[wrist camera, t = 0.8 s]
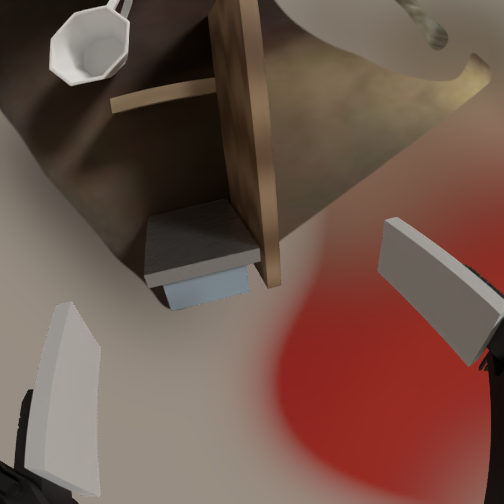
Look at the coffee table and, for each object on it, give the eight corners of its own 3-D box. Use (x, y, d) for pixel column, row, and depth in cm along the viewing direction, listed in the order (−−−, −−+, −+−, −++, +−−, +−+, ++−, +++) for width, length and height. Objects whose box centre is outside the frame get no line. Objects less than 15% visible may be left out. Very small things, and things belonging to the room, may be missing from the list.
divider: (123, 100, 24) (109, 98, 17) (201, 84, 25) (214, 77, 19) (125, 111, 25) (112, 113, 18) (203, 95, 26) (216, 92, 19)
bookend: (148, 216, 31) (143, 275, 21) (226, 198, 32) (259, 248, 22) (153, 235, 32) (153, 300, 22) (229, 217, 34) (262, 273, 24)
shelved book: (159, 226, 32) (161, 281, 22) (219, 212, 33) (245, 261, 24) (166, 250, 33) (171, 310, 24) (223, 237, 35) (249, 291, 25)
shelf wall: (207, 15, 22) (235, -30, 12) (219, 14, 22) (253, -30, 12) (234, 230, 35) (268, 288, 25) (244, 227, 35) (281, 285, 25)
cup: (65, 84, 21) (34, 80, 14) (103, -1, 17) (87, -29, 11) (124, 97, 24) (110, 94, 17) (163, 12, 20) (165, -17, 14)
